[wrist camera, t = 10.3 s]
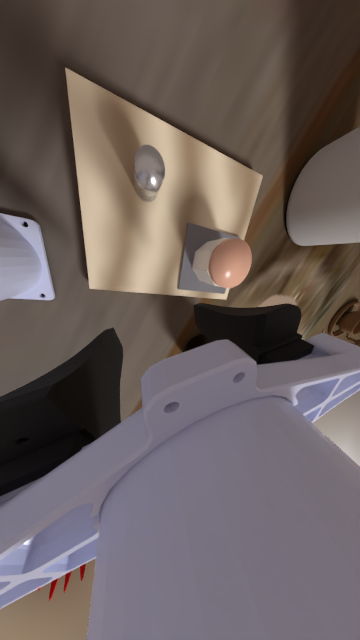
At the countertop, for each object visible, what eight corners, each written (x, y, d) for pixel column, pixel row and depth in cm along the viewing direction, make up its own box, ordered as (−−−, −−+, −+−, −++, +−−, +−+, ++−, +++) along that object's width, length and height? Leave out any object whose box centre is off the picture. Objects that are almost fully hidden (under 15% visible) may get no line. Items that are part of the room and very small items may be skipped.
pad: (177, 288, 19) (178, 289, 19) (187, 223, 16) (188, 222, 16) (223, 293, 22) (224, 293, 22) (238, 238, 19) (240, 237, 18)
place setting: (366, 290, 41) (400, 294, 36) (346, 337, 51) (370, 346, 46) (323, 315, 39) (351, 323, 34) (311, 358, 49) (332, 370, 44)
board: (92, 286, 17) (89, 288, 16) (73, 89, 11) (65, 67, 10) (221, 297, 24) (226, 299, 23) (253, 181, 18) (262, 175, 16)
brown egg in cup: (190, 279, 19) (207, 285, 14) (197, 239, 17) (219, 232, 12) (219, 283, 20) (242, 290, 16) (228, 247, 18) (258, 244, 14)
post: (133, 197, 14) (134, 180, 11) (134, 166, 13) (134, 138, 10) (157, 205, 14) (163, 191, 11) (158, 176, 13) (166, 152, 10)
